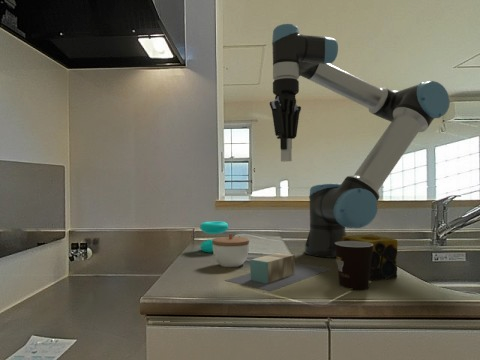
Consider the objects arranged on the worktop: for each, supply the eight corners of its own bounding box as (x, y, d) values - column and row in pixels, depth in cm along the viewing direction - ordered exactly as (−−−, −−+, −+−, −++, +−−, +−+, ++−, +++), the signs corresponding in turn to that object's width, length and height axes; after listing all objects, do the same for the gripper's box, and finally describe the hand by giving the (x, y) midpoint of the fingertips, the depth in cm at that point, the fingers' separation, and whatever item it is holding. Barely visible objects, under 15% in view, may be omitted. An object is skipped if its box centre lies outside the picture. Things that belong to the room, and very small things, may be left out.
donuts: (230, 223, 133) (201, 224, 132) (230, 252, 133) (201, 253, 132) (226, 220, 143) (199, 221, 142) (226, 247, 143) (199, 248, 142)
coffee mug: (375, 293, 86) (375, 247, 86) (335, 290, 87) (335, 246, 87) (369, 279, 97) (369, 239, 97) (333, 277, 99) (333, 238, 99)
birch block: (279, 252, 105) (250, 259, 96) (294, 254, 101) (266, 262, 92) (279, 271, 105) (250, 279, 96) (294, 274, 101) (266, 283, 92)
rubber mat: (289, 263, 116) (289, 261, 116) (332, 270, 107) (332, 268, 107) (224, 282, 95) (224, 280, 95) (270, 292, 86) (270, 291, 86)
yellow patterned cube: (340, 273, 104) (340, 235, 104) (371, 269, 108) (371, 233, 108) (365, 282, 94) (365, 241, 94) (398, 278, 98) (398, 239, 98)
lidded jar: (227, 272, 106) (227, 237, 105) (205, 265, 114) (205, 233, 114) (256, 266, 112) (256, 234, 112) (233, 260, 121) (233, 230, 121)
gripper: (287, 86, 120) (288, 162, 121) (261, 78, 111) (262, 161, 111) (308, 82, 115) (309, 161, 116) (283, 73, 106) (283, 160, 106)
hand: (286, 161), depth 113 cm, fingers closed
